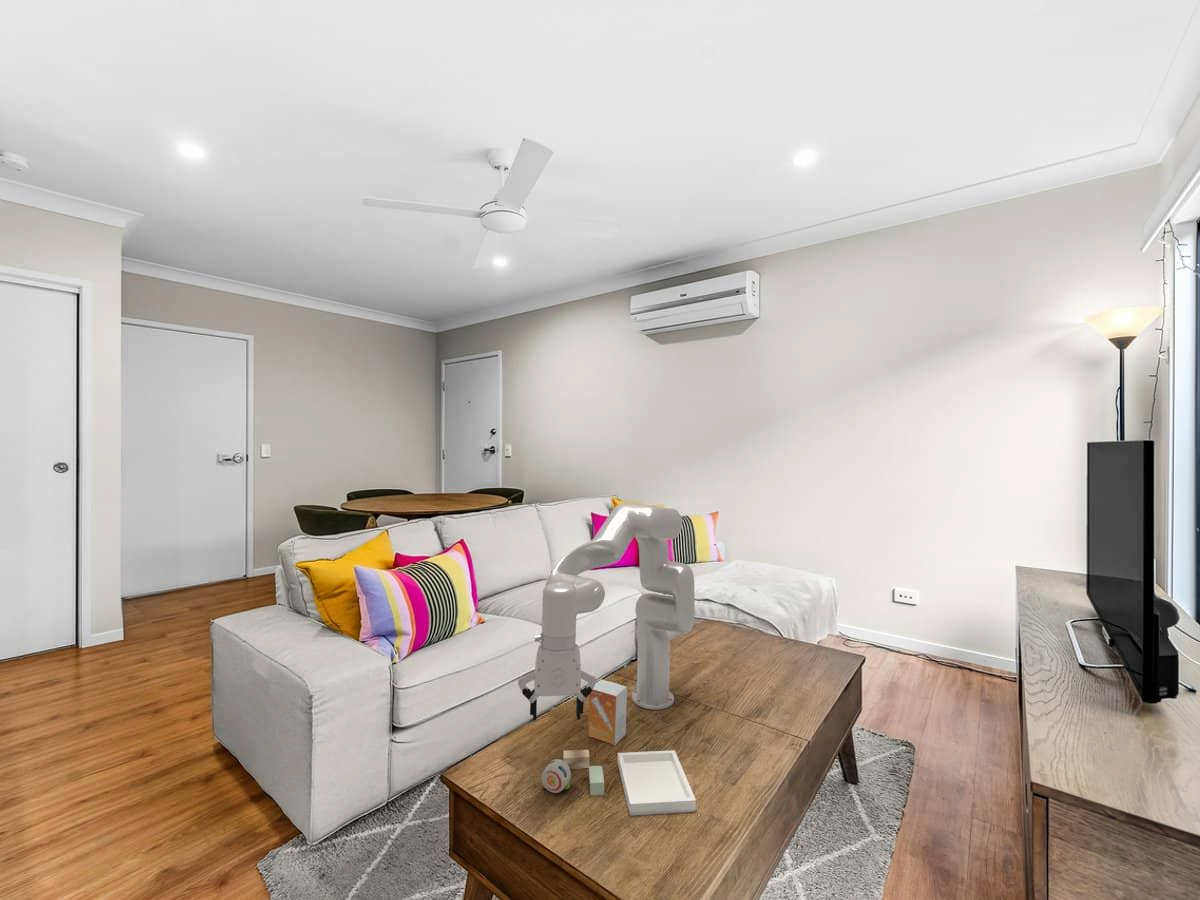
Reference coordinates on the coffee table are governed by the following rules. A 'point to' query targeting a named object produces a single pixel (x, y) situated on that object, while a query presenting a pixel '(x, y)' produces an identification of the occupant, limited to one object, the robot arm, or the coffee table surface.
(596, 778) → the sage block
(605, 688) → the small box
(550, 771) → the roller toy
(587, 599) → the robot arm
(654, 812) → the tray
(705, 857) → the coffee table surface
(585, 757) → the maple block
